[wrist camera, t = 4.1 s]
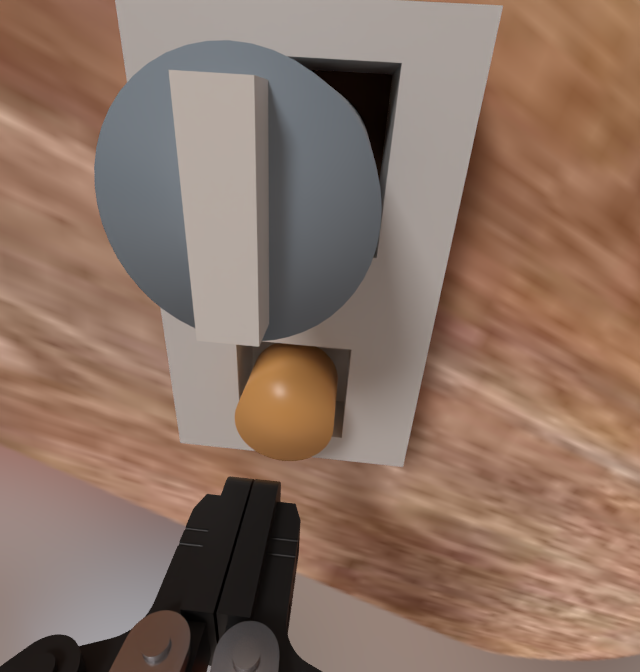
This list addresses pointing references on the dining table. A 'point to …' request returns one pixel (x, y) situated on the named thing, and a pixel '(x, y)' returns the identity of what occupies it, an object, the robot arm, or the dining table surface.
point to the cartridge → (238, 191)
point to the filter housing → (396, 198)
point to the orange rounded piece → (288, 402)
